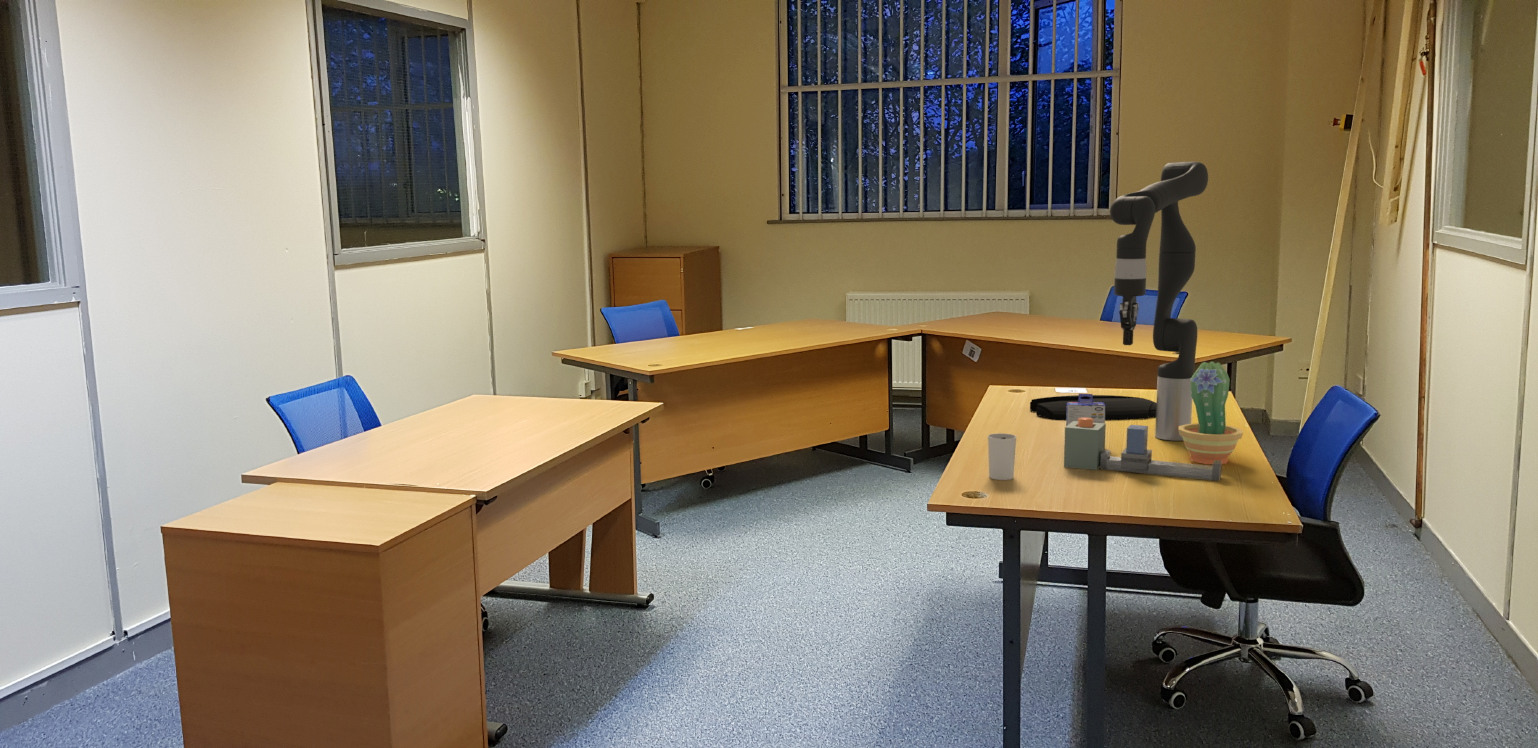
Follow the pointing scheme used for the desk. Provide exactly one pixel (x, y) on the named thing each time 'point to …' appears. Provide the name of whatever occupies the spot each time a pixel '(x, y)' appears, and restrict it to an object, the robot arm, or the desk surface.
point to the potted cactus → (1210, 417)
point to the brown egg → (1085, 422)
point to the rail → (1166, 468)
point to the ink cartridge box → (1085, 410)
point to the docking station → (1113, 404)
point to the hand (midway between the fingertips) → (1127, 344)
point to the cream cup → (1001, 455)
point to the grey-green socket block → (1084, 445)
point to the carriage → (1136, 449)
